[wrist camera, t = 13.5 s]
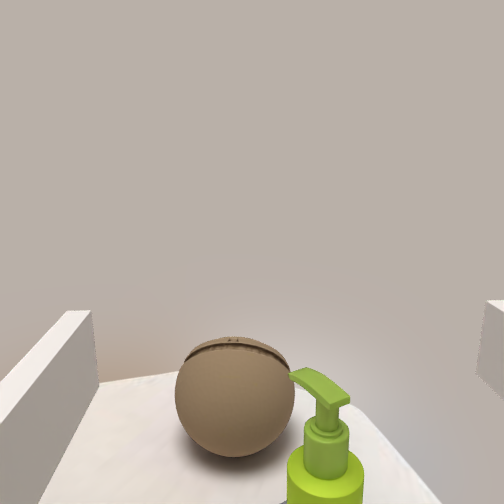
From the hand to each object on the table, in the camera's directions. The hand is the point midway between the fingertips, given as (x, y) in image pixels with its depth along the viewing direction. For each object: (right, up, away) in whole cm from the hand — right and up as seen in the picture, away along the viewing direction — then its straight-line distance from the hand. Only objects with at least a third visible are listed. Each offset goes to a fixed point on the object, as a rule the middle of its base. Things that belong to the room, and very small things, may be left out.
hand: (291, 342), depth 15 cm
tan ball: (-3, -22, +43) cm, 48 cm away
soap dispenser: (+4, -26, +23) cm, 35 cm away
